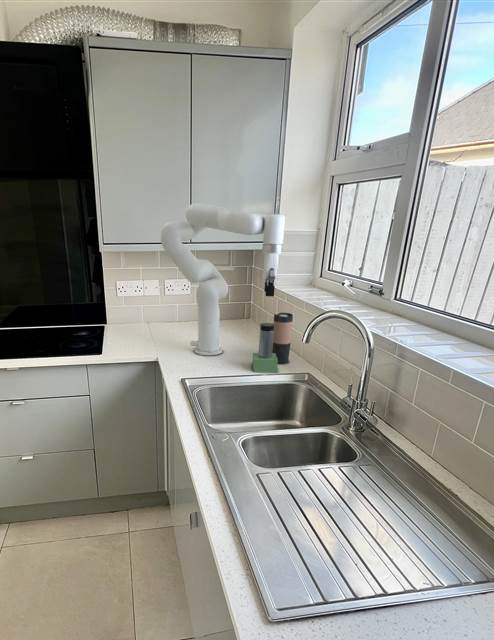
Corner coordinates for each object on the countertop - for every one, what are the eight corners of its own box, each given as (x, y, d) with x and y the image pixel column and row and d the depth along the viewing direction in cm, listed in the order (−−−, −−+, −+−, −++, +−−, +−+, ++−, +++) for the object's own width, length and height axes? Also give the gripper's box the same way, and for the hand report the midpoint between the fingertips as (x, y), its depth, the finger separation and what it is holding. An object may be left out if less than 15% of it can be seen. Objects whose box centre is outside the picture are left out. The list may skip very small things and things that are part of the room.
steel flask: (256, 357, 161) (258, 325, 156) (260, 353, 165) (262, 322, 160) (270, 359, 158) (272, 326, 154) (273, 355, 163) (276, 323, 158)
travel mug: (288, 364, 167) (293, 317, 160) (270, 363, 169) (273, 316, 161) (288, 358, 174) (292, 312, 167) (270, 357, 176) (274, 312, 168)
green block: (253, 371, 160) (254, 359, 158) (252, 364, 168) (253, 352, 166) (276, 372, 159) (277, 360, 157) (274, 364, 167) (275, 353, 166)
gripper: (261, 247, 164) (258, 290, 170) (263, 250, 148) (260, 297, 154) (280, 247, 163) (276, 290, 169) (284, 251, 147) (280, 298, 153)
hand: (268, 294), depth 162 cm, fingers open, 9 cm apart
